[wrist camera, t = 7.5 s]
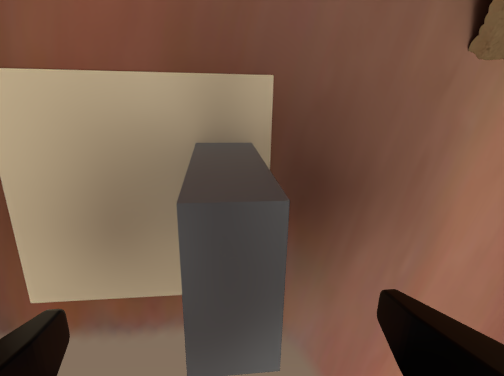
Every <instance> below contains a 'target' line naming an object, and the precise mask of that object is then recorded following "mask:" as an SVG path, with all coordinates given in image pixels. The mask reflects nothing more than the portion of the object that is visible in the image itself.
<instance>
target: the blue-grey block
mask: <svg viewBox="0 0 504 376" xmlns="http://www.w3.org/2000/svg"><path fill="white" fill-rule="evenodd" d="M289 204H290V200H289V199H288V197H287V196H286V194H285V193H284V191H283V190H282V188H281V187H280V185H279V184H278V182H277V180H276V179H275V177H274V176H273V174H272V173H271V171H270V170H269V168H268V167H267V165H266V164H265V162H264V161H263V159H262V157H261V156H260V154H259V153H258V151H257V150H256V148H255V147H254V145H253V144H252V143H196V144H195V147H194V150H193V153H192V156H191V159H190V163H189V166H188V169H187V172H186V175H185V178H184V181H183V184H182V188H181V191H180V194H179V197H178V200H177V203H176V205H177V221H178V237H179V253H180V269H181V285H182V301H183V317H184V332H185V348H186V364H187V376H228V375H239V374H250V373H260V372H261V373H262V372H273V371H280V358H281V341H282V324H283V307H284V290H285V273H286V256H287V239H288V222H289Z"/></svg>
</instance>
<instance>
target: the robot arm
mask: <svg viewBox="0 0 504 376" xmlns="http://www.w3.org/2000/svg"><path fill="white" fill-rule="evenodd" d="M377 318H378V322H379V324H380V326H381V328H382V331H383V333H384V335H385V337H386V340H387V342H388V344H389V346H390V349H391V351H392V353H393V355H394V358H395V360H396V362H397V364H398V366H399V368H400V370H401V372H402V374H403V376H504V345H503V344H502V343H500V342H498V341H496V340H494V339H492V338H490V337H488V336H486V335H484V334H482V333H480V332H478V331H476V330H474V329H472V328H470V327H468V326H466V325H464V324H462V323H460V322H459V321H457V320H455V319H453V318H451V317H449V316H447V315H445V314H443V313H441V312H439V311H437V310H435V309H433V308H431V307H429V306H427V305H425V304H423V303H421V302H420V301H418V300H416V299H414V298H412V297H410V296H408V295H406V294H404V293H402V292H400V291H398V290H396V289H388V290H382V291H381V293H380V297H379V303H378V309H377ZM69 337H70V334H69V328H68V323H67V318H66V314H65V311H64V310H62V309H52V310H46V311H44V312H42V313H41V314H39V315H37V316H36V317H34V318H33V319H31V320H30V321H28V322H26V323H25V324H23V325H22V326H20V327H19V328H17V329H15V330H14V331H12V332H11V333H9V334H7V335H6V336H4V337H3V338H1V339H0V376H57V374H58V371H59V368H60V365H61V362H62V360H63V357H64V354H65V351H66V349H67V345H68V343H69Z"/></svg>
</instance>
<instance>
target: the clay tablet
mask: <svg viewBox="0 0 504 376" xmlns="http://www.w3.org/2000/svg"><path fill="white" fill-rule="evenodd" d="M468 51H470V52H473V53H474V54H475V55H476V56H477V58H478V59H483V60H497V59H504V0H493V1H492V3H491V4H490V6H489V12H488V14H487V15H486V17H485V21H484V25H482V26H481V28H480V29H479V35H478V36H477V37H476V38H475V39H474V40H473V41H472V42H471V44H470V47H469V50H468Z"/></svg>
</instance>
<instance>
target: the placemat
mask: <svg viewBox="0 0 504 376" xmlns="http://www.w3.org/2000/svg"><path fill="white" fill-rule="evenodd" d="M273 79H274V75H249V74H210V73H171V72H132V71H93V70H54V69H15V68H0V177H1V181H2V186H3V190H4V194H5V198H6V202H7V206H8V211H9V215H10V219H11V223H12V227H13V231H14V236H15V240H16V244H17V248H18V252H19V256H20V260H21V265H22V269H23V273H24V277H25V281H26V285H27V290H28V294H29V298H30V302H31V303H43V302H62V301H80V300H98V299H116V298H135V297H153V296H171V295H182V285H181V269H180V253H179V237H178V221H177V205H176V203H177V200H178V197H179V194H180V191H181V188H182V184H183V181H184V178H185V175H186V172H187V169H188V166H189V163H190V159H191V156H192V153H193V150H194V147H195V144H196V143H252V144H253V145H254V147H255V148H256V150H257V151H258V153H259V154H260V156H261V157H262V159H263V161H264V162H265V164H266V165H267V167H268V168H269V170H270V155H271V130H272V105H273Z"/></svg>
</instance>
